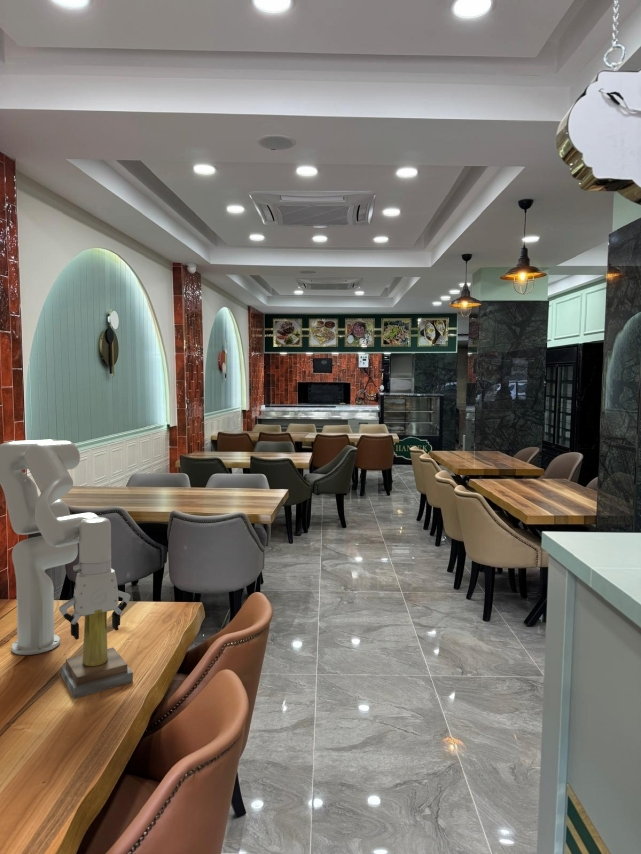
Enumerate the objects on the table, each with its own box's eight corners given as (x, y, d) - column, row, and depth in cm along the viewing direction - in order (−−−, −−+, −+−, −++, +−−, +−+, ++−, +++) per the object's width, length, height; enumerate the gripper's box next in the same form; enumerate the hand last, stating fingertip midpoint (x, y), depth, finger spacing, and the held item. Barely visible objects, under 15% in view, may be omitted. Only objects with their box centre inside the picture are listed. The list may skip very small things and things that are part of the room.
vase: (92, 669, 140) (93, 613, 139) (77, 662, 144) (77, 607, 143) (113, 659, 146) (113, 605, 145) (97, 653, 149) (97, 600, 148)
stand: (61, 675, 146) (60, 658, 146) (116, 661, 155) (116, 645, 154) (74, 698, 135) (73, 680, 135) (132, 682, 143) (132, 664, 143)
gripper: (62, 576, 135) (62, 646, 136) (134, 564, 146) (134, 630, 146) (55, 569, 141) (56, 636, 142) (125, 558, 152) (125, 620, 152)
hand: (96, 633), depth 144 cm, fingers open, 9 cm apart
